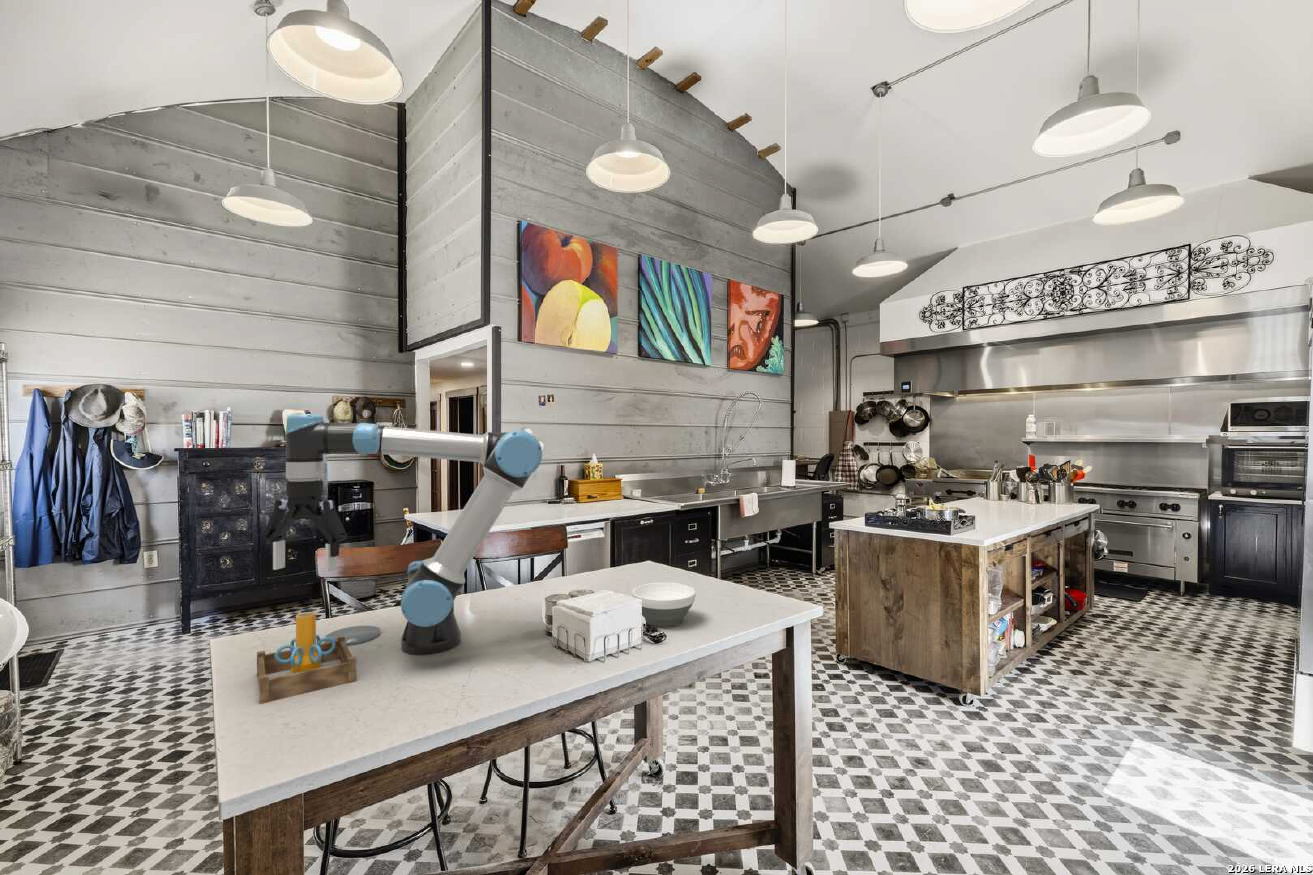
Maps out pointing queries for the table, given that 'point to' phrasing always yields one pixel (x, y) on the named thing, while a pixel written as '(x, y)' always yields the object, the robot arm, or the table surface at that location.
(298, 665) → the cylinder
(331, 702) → the table surface
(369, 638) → the trivet
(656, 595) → the bowl
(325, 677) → the crate
